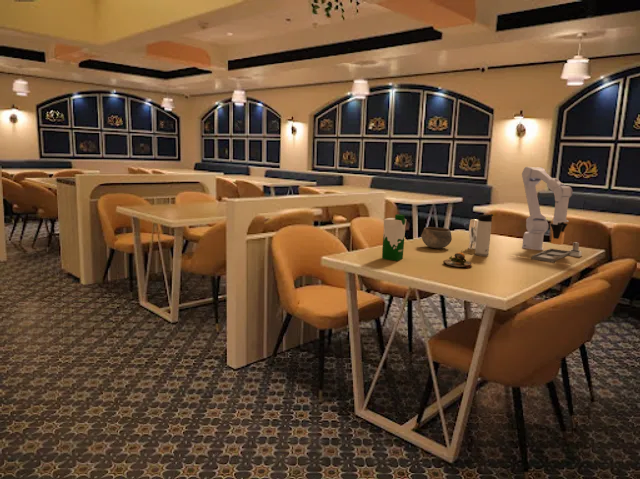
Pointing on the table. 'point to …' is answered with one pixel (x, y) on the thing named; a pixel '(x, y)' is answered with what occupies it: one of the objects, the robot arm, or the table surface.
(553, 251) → the case
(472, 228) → the beer glass
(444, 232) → the bowl
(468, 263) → the burger
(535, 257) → the lid
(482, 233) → the travel mug
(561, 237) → the block
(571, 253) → the bracket
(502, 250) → the table surface
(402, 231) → the milk carton
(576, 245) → the rod
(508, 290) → the table surface
